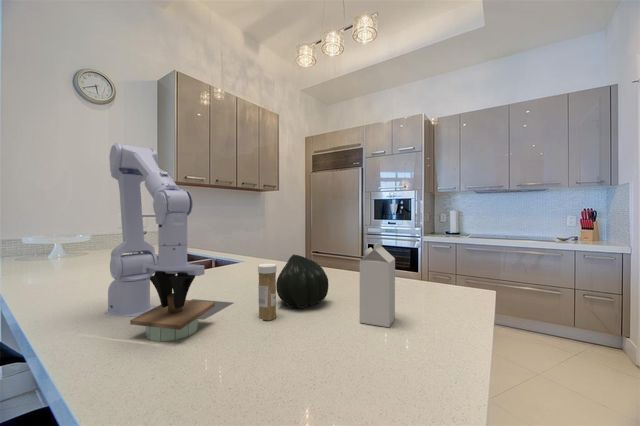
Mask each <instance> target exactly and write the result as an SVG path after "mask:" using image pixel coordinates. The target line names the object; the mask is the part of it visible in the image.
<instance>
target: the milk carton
mask: <svg viewBox="0 0 640 426" xmlns="http://www.w3.org/2000/svg"><path fill="white" fill-rule="evenodd" d="M363 253H364V254H365V255H364V256H363V257H362V258H361V259H360V260H359V323H360V324H361V323H362V324H367V325H372V326H373V325H374V326H379V327H384V328H390V327H391V325H392V324H393V321H395V319H396V258H395V257H394V256H393V255H392V254H391V253H390V252H388V251H387V250H386V249H385V248H384V247H383V246H382V241H380V242H377V243H375V244H373V248H372V247H369V248H367V249H365V250H364V251H363Z"/></svg>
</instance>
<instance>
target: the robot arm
mask: <svg viewBox="0 0 640 426" xmlns="http://www.w3.org/2000/svg"><path fill="white" fill-rule="evenodd" d="M158 163H159V156H158V153H157V151H156V150H155V149H154V148H151V147H150V148H147V147H141V146H135V145H127V144H121V143H118V142H116V143H113V145H112V146H111V147H110V151H109V171H110V174H111V175H110V176H111V178H113V179H115V180H117V183H118V189H119V202H120V217H121V233H122V242H120V244H119V245H117V246H116V247H114V248H113V249H112V250H111V253H110V262H109V271H110V275H111V277H112V279H113V280H112V281H111V283H110V284H109V285H108V289H107V311H106V312H104V315H109V316H119V317H128V318H136V317H138V316H139V315H141V314H143V313H145V312H147V311H149V310H151V309H153V308H155V307H157V306H158V305H157V306H156V305H151V283H152V284H153V286H154V288H155V291H156V292H157V295H158V298H159V301H160V305H162V307H167V306H168V301H167V295H169V294H172V293H174V306H175V309H178V308H181V307H183V306H184V304H185V300H187V296H188V292H189V290H190V287H191V285H192V283H193V281H194V280H195V278H196V277H199V276H203V275H205V265H200V264H194V263H189V261H188V216H189V215H191V213H192V212H193V211H192V210H193V205H194V203H193V196H192V194H191V192H190V190H186V189H181V188H179V186H178V185H177V184H176V182H175V181H174V180H173V179H172V177H171V176H170V174H169V173H168V172H167V171H162V170H161V169H160V167H159V165H158ZM142 182H144V186H145V188H146V190H147V191H148V193H149V195H150V196H151V197H152V199H153V203H152V205H153V212H154V216H155V223H156V224H157V227H158V229H157V230H158V231H157V233H158V234H157V235H158V240H157V241H158V243H157V245H158V251H157V253H158V255H157V254H156V249H155V247H154V246H153V245H152V244H151V243H148V242H147V241H145V235H144V234H145V231H144V223H143V222H144V221H143V207H142V195H141V194H142V193H141V184H142ZM157 256H158V257H157Z"/></svg>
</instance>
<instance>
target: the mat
mask: <svg viewBox="0 0 640 426" xmlns="http://www.w3.org/2000/svg"><path fill="white" fill-rule="evenodd" d="M191 300H192V301H205V302H215V306H214V307H213V308H211V309H210V310H209V311H207V312H206V313H204V314H203V315H201V316H200V317H198V320H202V321H203V320H206V319H208V318H211V316H213V315H216V314H217V313H218V312H221V311H222V310H223V309H225V308H228V307H229V306H232V305H233V304H234V302H231V301H220V300H219V301H218V300H209V299H208V300H207V299H195V298H192V299H191Z"/></svg>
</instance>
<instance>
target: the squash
mask: <svg viewBox="0 0 640 426" xmlns="http://www.w3.org/2000/svg"><path fill="white" fill-rule="evenodd" d="M328 292H329V278H328V275H327V274H326V272H325V269H323V267H322V266H321V265H320V264H319V263H317V262H316V261H314V260H312V259H309V258H307V257H304V256H302V255H300V254H299V255H298V254H292V255H291V256H290V257H289V259H288V260H287V262H286V263H285V265H284V266H283V268H282V269H281V271H280V272H279V274H278V276H277V278H276V294H277V296H278V298H279V299H280V300H281V301H282V302H283V303H285V305H287V306H288V307H290V308H299V309H305V308H307V306H308V305H309V306H313V305H315V304H320V303H322V302H323V300H325V299H326V297H327V295H328Z"/></svg>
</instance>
